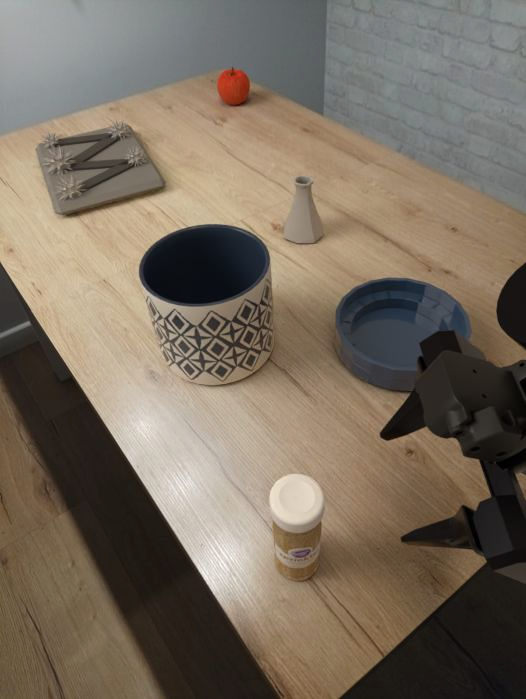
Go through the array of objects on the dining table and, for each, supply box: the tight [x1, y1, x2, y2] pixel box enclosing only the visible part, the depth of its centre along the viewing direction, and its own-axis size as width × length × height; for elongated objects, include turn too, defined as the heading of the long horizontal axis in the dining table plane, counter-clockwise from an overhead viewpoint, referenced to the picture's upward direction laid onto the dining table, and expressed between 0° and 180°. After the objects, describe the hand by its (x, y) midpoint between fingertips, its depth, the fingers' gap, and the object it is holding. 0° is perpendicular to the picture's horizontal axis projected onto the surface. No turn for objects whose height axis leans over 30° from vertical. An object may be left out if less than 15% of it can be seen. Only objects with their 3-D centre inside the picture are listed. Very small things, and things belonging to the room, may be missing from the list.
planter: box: [138, 223, 275, 386], centre depth 67 cm, size 16×16×14 cm
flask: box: [282, 174, 325, 244], centre depth 85 cm, size 7×7×10 cm
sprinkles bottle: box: [268, 473, 326, 582], centre depth 47 cm, size 5×5×14 cm
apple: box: [216, 66, 251, 106], centre depth 125 cm, size 8×8×8 cm
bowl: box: [333, 277, 473, 392], centre depth 69 cm, size 17×17×4 cm
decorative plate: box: [34, 118, 167, 217], centre depth 105 cm, size 30×22×7 cm
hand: (392, 485), depth 42 cm, fingers open, 9 cm apart
